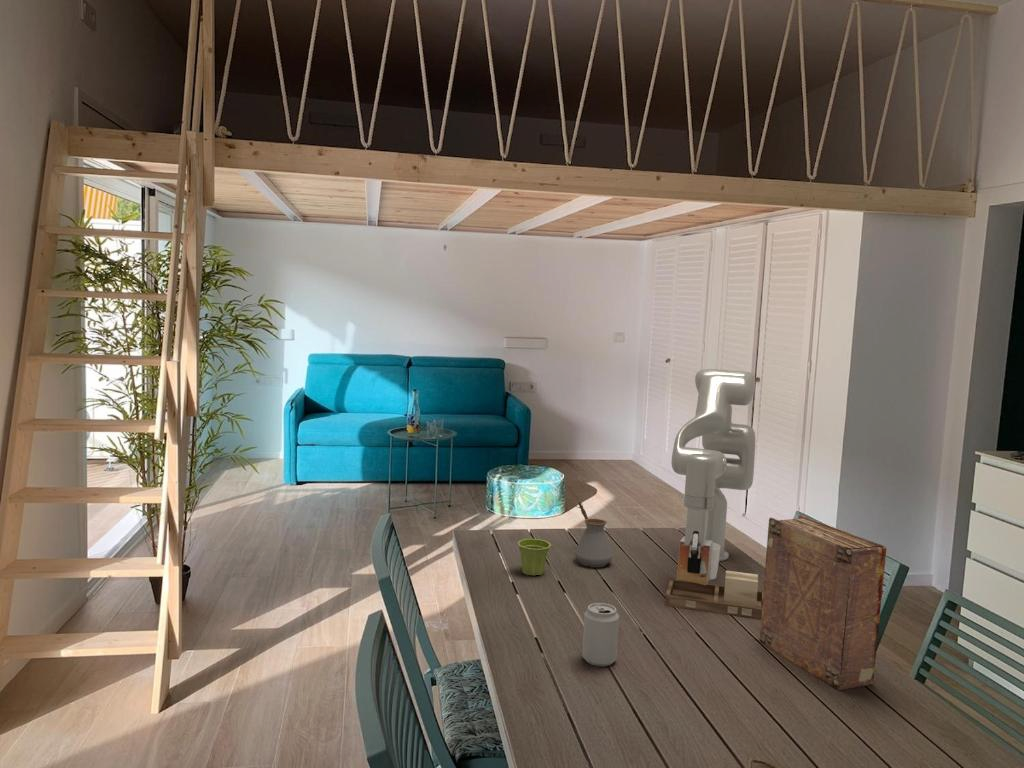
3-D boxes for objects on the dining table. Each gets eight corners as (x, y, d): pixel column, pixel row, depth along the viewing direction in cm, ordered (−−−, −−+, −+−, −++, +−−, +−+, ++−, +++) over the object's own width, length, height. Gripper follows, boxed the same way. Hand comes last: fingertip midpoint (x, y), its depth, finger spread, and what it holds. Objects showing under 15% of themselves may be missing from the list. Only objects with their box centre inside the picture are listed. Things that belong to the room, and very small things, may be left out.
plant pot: (555, 572, 231) (556, 543, 230) (538, 581, 223) (540, 550, 222) (527, 565, 236) (529, 536, 235) (510, 573, 228) (511, 544, 227)
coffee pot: (618, 568, 236) (621, 519, 235) (581, 570, 233) (583, 520, 232) (593, 546, 257) (595, 500, 255) (559, 548, 254) (561, 501, 252)
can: (594, 670, 170) (597, 616, 168) (575, 656, 176) (578, 603, 175) (623, 664, 173) (626, 611, 172) (603, 650, 180) (606, 599, 178)
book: (758, 641, 188) (768, 516, 185) (790, 636, 192) (799, 514, 189) (839, 691, 165) (852, 550, 162) (873, 685, 168) (886, 546, 165)
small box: (676, 580, 209) (678, 541, 208) (680, 574, 214) (682, 535, 213) (707, 585, 206) (710, 545, 205) (710, 579, 211) (713, 540, 210)
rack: (669, 590, 219) (670, 578, 219) (764, 604, 213) (765, 591, 212) (664, 609, 206) (665, 596, 206) (766, 623, 199) (767, 610, 199)
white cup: (715, 575, 234) (718, 542, 233) (720, 584, 226) (722, 550, 225) (688, 573, 235) (690, 540, 234) (691, 582, 227) (694, 548, 226)
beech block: (723, 599, 212) (726, 570, 211) (755, 604, 209) (757, 574, 209) (723, 607, 206) (725, 577, 205) (755, 612, 204) (758, 582, 203)
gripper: (686, 493, 217) (682, 557, 219) (681, 507, 201) (676, 577, 203) (715, 496, 215) (710, 561, 217) (712, 510, 199) (707, 581, 201)
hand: (694, 568), depth 210 cm, fingers closed on small box, 5 cm apart
